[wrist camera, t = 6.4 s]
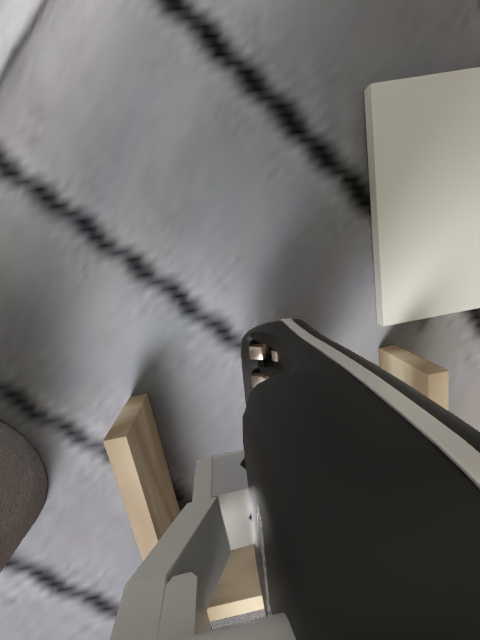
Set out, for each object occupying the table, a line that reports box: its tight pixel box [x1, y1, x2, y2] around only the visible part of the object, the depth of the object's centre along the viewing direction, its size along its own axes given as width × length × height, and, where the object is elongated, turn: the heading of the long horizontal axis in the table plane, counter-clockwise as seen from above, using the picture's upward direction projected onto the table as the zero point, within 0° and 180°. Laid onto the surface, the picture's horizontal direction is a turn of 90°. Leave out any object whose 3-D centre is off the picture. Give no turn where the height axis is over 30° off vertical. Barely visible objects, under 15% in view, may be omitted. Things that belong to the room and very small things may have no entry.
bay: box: [103, 345, 449, 622], centre depth 16 cm, size 16×12×4 cm
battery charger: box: [241, 318, 480, 640], centre depth 8 cm, size 7×4×11 cm, turn 6°
